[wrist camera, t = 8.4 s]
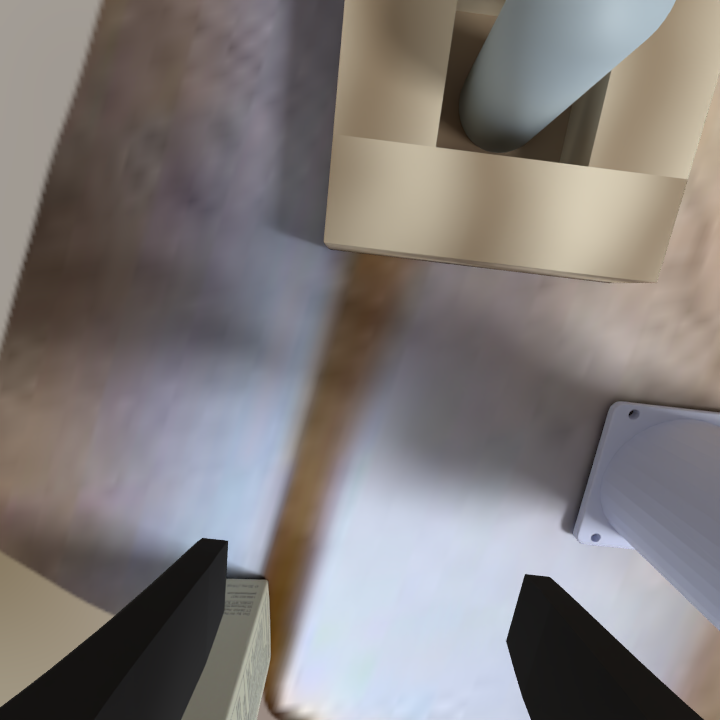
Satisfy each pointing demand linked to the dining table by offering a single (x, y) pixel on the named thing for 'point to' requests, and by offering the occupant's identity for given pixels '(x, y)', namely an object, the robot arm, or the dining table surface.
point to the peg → (547, 63)
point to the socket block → (518, 167)
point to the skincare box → (236, 657)
